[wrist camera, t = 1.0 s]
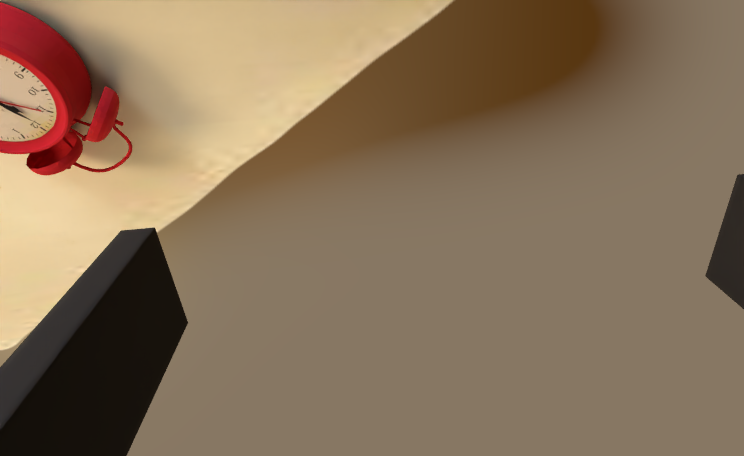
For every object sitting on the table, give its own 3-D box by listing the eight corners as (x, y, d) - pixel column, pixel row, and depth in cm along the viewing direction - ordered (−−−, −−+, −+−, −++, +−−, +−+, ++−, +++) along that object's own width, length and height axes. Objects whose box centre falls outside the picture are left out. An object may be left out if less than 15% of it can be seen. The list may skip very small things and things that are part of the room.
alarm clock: (-84, -34, 25) (143, 162, 33) (-13, -52, 30) (170, 123, 38) (-170, 74, 29) (54, 229, 37) (-94, 43, 34) (89, 185, 42)
